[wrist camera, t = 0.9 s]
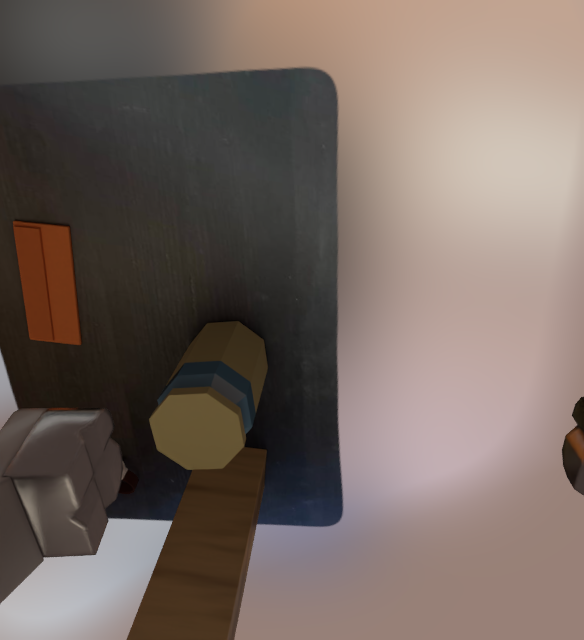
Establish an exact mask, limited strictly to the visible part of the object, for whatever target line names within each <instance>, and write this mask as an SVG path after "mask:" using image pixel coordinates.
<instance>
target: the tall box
mask: <svg viewBox="0 0 584 640" xmlns="http://www.w3.org/2000/svg"><path fill="white" fill-rule="evenodd" d="M266 454H267V450H265V449H256V448H248V447H243V448H242V449H241V450H240V451H239V452H238V453H237V454H236V455H235V456H234V458H233V459H232V460H231V461H230V462H229V463H228V464H227V465H226V466H225V467H224V468H223V469H194V470H193V471H192V473H191V476H190V478H189V481H188V483H187V486H186V489H185V491H184V494H183V496H182V499H181V501H180V504H179V507H178V509H177V512H176V514H175V517H174V519H173V522H172V525H171V527H170V530H169V532H168V535H167V537H166V540H165V543H164V545H163V548H162V550H161V553H160V555H159V558H158V560H157V563H156V566H155V568H154V571H153V574H152V576H151V579H150V581H149V584H148V586H147V589H146V591H145V594H144V596H143V599H142V602H141V604H140V607H139V609H138V612H137V614H136V617H135V620H134V622H133V625H132V627H131V630H130V632H129V635H128V638H127V640H234V637H235V632H236V627H237V622H238V617H239V612H240V607H241V601H242V597H243V592H244V586H245V581H246V576H247V571H248V566H249V560H250V556H251V551H252V546H253V541H254V536H255V530H256V525H257V520H258V515H259V510H260V505H261V500H262V495H263V490H264V481H265V468H266Z"/></svg>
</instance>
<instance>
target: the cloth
mask: <svg viewBox="0 0 584 640" xmlns="http://www.w3.org/2000/svg"><path fill="white" fill-rule="evenodd" d="M13 225H14V226H13V228H14V235H15V242H16V249H17V255H18V262H19V269H20V276H21V282H22V289H23V296H24V303H25V309H26V316H27V323H28V330H29V336H30V339H31V340H40V341H49V342H57V343H66V344H75V345H81V344H82V342H81V332H80V322H79V312H78V302H77V292H76V282H75V273H74V263H73V253H72V243H71V233H70V226H62V225H53V224H43V223H33V222H24V221H13Z"/></svg>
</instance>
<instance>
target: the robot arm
mask: <svg viewBox="0 0 584 640" xmlns="http://www.w3.org/2000/svg"><path fill="white" fill-rule="evenodd" d="M572 416H573V418H574V420H575V421H576V423H577V426H576V427H575V428H574V429H573V430H571V431H570V432H569V433H568V434H567V435H566V436H565V440H564V445H563V448H562V455H563V466H564V469H565V472H566V475H567V478H568V479H569V481H570V483H571V484H572V486H573V488H574V489H575V490H576V491H578V492H579V493H581V494H582V495H584V397H581V398H580V400H579V401H578V402H577V403H576V404H575V407H574V411H573V414H572ZM114 427H115V425H114V422H113V419H112V415H111V412H110V411H109V410H107V409H106V408H49V409H46V408H39V409H20V410H17V411H15V412H14V413H13V414H12V415H11V416H10V418H9V419H8V421H7V422H6V423H5V425H4V426H3V427H2V429H1V430H0V603H1V602H2V601H3V600H4V599H5V598H6V597H7V596H8V595H9V594H10V593H11V592H12V591H13V590H14V589H15V588H16V587H17V586H18V585H20V584H21V583H22V582H23V581H24V580H25V578H27V577H28V576H29V575H30V574H31V573H32V572H33V571H34V570H35V569H36V568H37V566H38V565H40V564H41V563H42V562H43V557H63V556H83V555H96V553H97V550H98V547H99V545H100V542H101V539H102V537H103V534H104V531H105V528H106V525H107V523H108V518H107V514H106V511H105V508H106V507H108V506H109V505H110V504H111V503H112V502H113V501H115V500H116V498H117V495H118V492H119V489H120V486H121V480H122V473H123V461H122V453H121V449H120V445H118V444H117V443H116V442H115V441H114V440H113V439H111V438H110V436H111V434H112V431H113V429H114Z"/></svg>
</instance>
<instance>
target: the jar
mask: <svg viewBox="0 0 584 640" xmlns="http://www.w3.org/2000/svg"><path fill="white" fill-rule="evenodd" d="M267 369H268V365H267V358H266V352H265V345H264V340H263V339H262V338H260V337H259V336H258V335H256V334H255V333H254V332H252V331H251V330H250V329H248V328H247V327H246V326H244V325H243V324H242V323H240V322H239V321H232V322H217V323H207V324H206V325H205V326H204V328H203V329H202V330H201V331H200V333H199V334H198V335H197V336H196V338H195V339H194V340H193V341H192V343H191V344H190V345H189V347H188V349H187V350H186V352H185V354H184V355H183V357H182V359H181V360H180V362H179V364H178V366H177V367H176V369H175V371H174V372H173V374H172V376H171V378H170V379H169V381H168V383H167V384H166V386H165V388H164V389H163V391H162V393H161V395H160V396H159V398H158V400H157V401H158V405H159V406H158V407H157V408H156V410H155V411H154V412H153V414H152V415H151V417H150V419H149V421H150V424H151V428H152V432H153V436H154V439H155V443H156V447H157V450H158V451H160V452H161V453H163V454H164V455H166V456H167V457H169V458H170V459H172V460H173V461H175V462H177V463H178V464H180V465H181V466H183V467H184V468H186V469H187V470H194V469H223V468H224V467H225V466H226V465H227V464H228V463H229V462H230V461H231V460H232V459H233V458H234V456H235V455H236V454H237V453H238V452H239V451H240V450H241V449H242V448H243V447H244V445H245V441H246V435H245V434H246V433H247V432H248V431H249V430H250V429H251V428H252V426H253V422H254V418H255V414H256V411H257V407H258V403H259V399H260V396H261V392H262V388H263V384H264V380H265V377H266V373H267Z"/></svg>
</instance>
